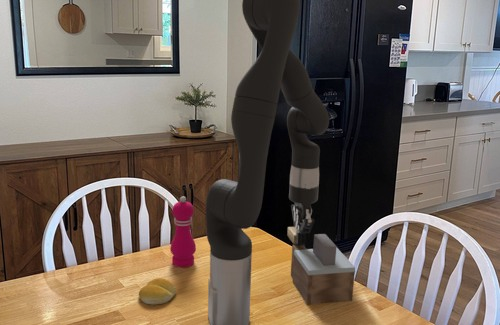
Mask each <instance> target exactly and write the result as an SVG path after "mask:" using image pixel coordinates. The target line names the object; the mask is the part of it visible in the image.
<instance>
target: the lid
mask: <svg viewBox="0 0 500 325" xmlns="http://www.w3.org/2000/svg"><path fill="white" fill-rule="evenodd" d="M312 247H313V248H306V249H304V250H294V255H295V256H296V258H297V259H298V261H299V262H300V264H301V265H302V266H303V268H304V269H305V271H306V272H307V274H308V275H318V274H331V273H345V272H355V271H356V267H355V265H353V263H352V262H351V261H350V259H348V258H347V256H346V255H345V254H343V253H342V252H341V250H340V249H339V248H338V246H337V245H336V244H335V243H334V242H333V240H331V238H329V236H328V235H327V234H326V233H318V234H317V233H316V234H314V235H313V246H312ZM355 273H356V272H355Z"/></svg>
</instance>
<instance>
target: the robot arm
mask: <svg viewBox="0 0 500 325" xmlns="http://www.w3.org/2000/svg"><path fill="white" fill-rule="evenodd" d="M300 3H301V1H300V0H242V3H241V4H242V5H241V7H242V9H241V10H242V15H243V17H244V18H243V19H244V20H245V22H246V25H247V26H248V28H249V30H250V32H251V34H252V36H253V37H254V38H255V41H256V42H257V43H258V45H259V47H260V49H261V51H260V53H259V55H258V57H257V58H256V59H255V61H254V62H253V64H251V66H250V67H249V69H248V70H247V71H246V73H245V74H244V76H243V77H242V78H241V80H240V81H239V82H238V85H237V87H236V90H235V94H234V98H233V102H232V110H231V116H230V121H231V128H232V132H233V135H234V139H235V143H236V145H237V146H236V147H237V150H238V155H239V171H238V172H239V173H238V179H237V181H234V180H232V179H231V180H230V179H227V178H226V179H225V178H223V179H222V178H221V179H219V180H217V181H215V182H214V183H213V184H212V185H211V186H210V187H209V190H208V192H207V195H206V201H205V223H206V238H207V242H208V244H209V248H210V250H209V252H210V253H209V279H208V288H207V289H208V291H207V292H208V293H207V296H208V297H207V301H208V302H207V304H208V305H207V317H208V322H209V325H249V324H250V319H251V318H250V316H251V288H252V287H251V283H252V280H251V279H252V262H253V261H252V258H253V257H252V254H253V242H252V239H251V238H250V236H248V235H247V233H245V231H244V230H247V229H250V228H251V227H252V226H253V225H254V224H256V222H257V220H258V217H260V214H261V209H262V205H263V198H264V188H265V180H266V179H265V178H266V170H267V163H268V162H267V161H268V156H269V155H268V154H269V148H270V142H271V136H272V131H273V128H274V123H275V119H276V113H277V109H278V104H279V98H280V92H282V94H283V97H284V99H285V101H286V103H287V105H288V106H290V107H291V108H290V109H289V111H288V113H287V117H286V125H287V126H286V127H287V131H288V136H289V140H290V145H291V151H292V152H291V166H290V173H289V190H288V192H289V193H288V199H289V200H290V201H291V202H293V203H294V204H291V205H290V207H291V213H292V214H291V215H292V221H293V227H296V228H295V229H296V231H297V232H296V243H297V244H296V245H298V246H303V245H304V246H306V241H307V239H306V238H307V234H310V232H311V230H312V228H313V226H314V224H315V218H311V216H312V213H313V209H312V204H314V203H316V202H318V199H319V184H320V156H321V155H320V153H321V149H320V146H319V145H318V144H316V143H315V142H313V141H311V140H309V137H308V136H307V135H309V136H310V135H312V136H322V135H324V133H325V132H327V131H328V128H329V125H330V116H329V113H328V110H327V108H326V106H325V105H324V103H323V102H322V100H321V99H320V97H319V96H318V95H317V93H316V92H315V91H314V88H313V85H312V82H311V79H310V76H309V73H308V71H307V68H306V66H305V65H304V64H303V62H302V60H300V58H299V57H298V56H297V55H296V54H295V53H294V51H293V50H292V49H291V45H292V42H293V39H294V36H295V31H296V28H297V25H298V20H299V15H300V10H301V9H300V8H301V6H300V5H301V4H300Z"/></svg>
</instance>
